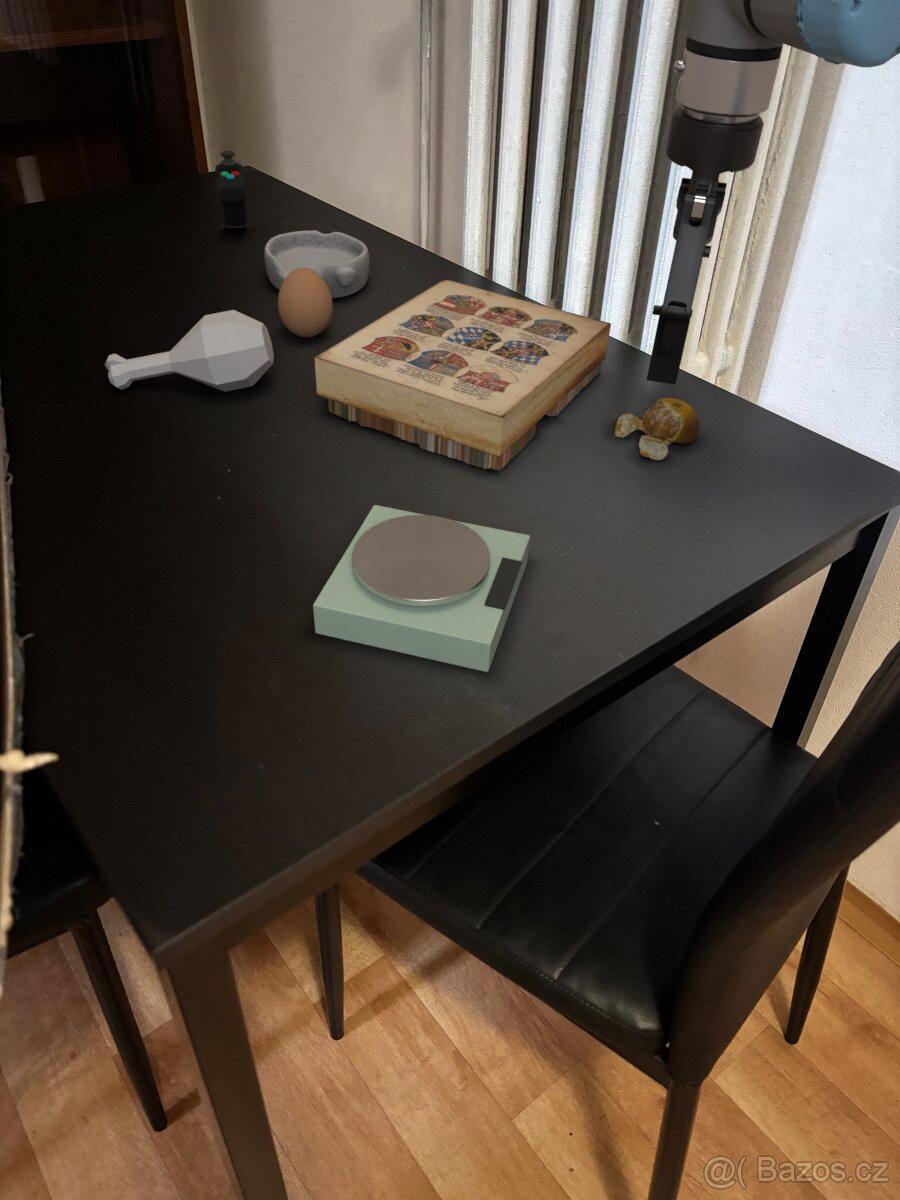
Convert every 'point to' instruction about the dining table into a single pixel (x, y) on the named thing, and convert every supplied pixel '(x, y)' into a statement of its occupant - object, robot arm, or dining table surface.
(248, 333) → the chicken leg
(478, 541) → the scale pan
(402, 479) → the dining table surface
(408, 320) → the book
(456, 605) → the scale
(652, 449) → the fruit
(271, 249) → the dish
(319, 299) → the egg
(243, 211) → the controller
